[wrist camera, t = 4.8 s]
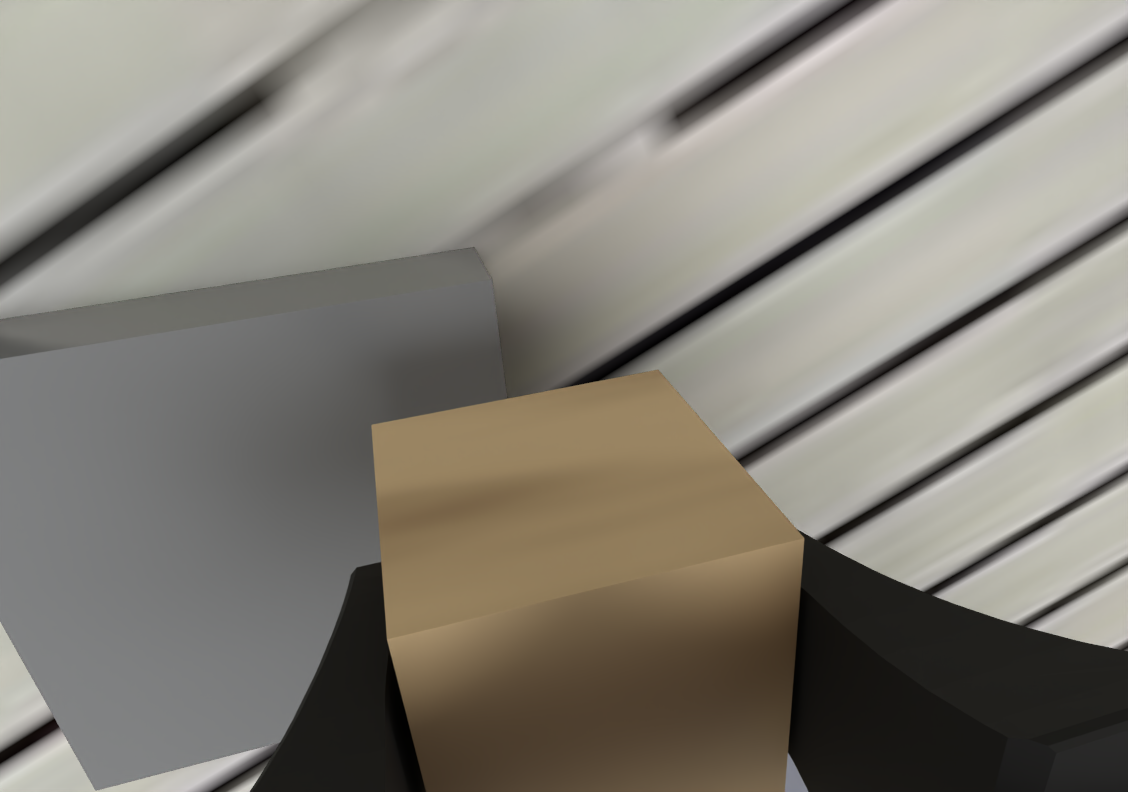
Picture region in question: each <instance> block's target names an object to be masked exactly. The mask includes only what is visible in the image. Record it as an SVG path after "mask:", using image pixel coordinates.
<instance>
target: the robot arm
mask: <svg viewBox="0 0 1128 792" xmlns="http://www.w3.org/2000/svg"><path fill="white" fill-rule="evenodd" d="M798 531H799V530H798ZM799 533H800V534H801V535H802V536H803V537H804V550H803V563H802V575H801V588H800V601H799V614H798V627H797V640H796V653H795V666H794V679H793V692H792V705H791V718H790V731H789V744H788V757H787V769H786V782H785V792H1128V651H1123V650H1118V649H1113V648H1109V647H1104V646H1099V645H1094V644H1089V643H1084V642H1080V641H1076V640H1072V639H1068V638H1064V637H1061V636H1057V635H1053V634H1049V633H1045V632H1042V631H1038V630H1034V629H1030V628H1027V627H1023V626H1020V625H1017V624H1013V623H1010V622H1007V621H1003V620H1000V619H997V618H994V617H991V616H988V615H985V614H982V613H979V612H976V611H973V610H970V609H967V608H964V607H961V606H958V605H956V604H953V603H950V602H948V601H945V600H942V599H940V598H937V597H934V596H932V595H929V594H927V593H925V592H922V591H920V590H917V589H915V588H913V587H910V586H908V585H906V584H903V583H901V582H898V581H896V580H894V579H891V578H889V577H887V576H885V575H883V574H881V573H878V572H876V571H874V570H872V569H870V568H868V567H866V566H864V565H862V564H860V563H858V562H856V561H854V560H852V559H850V558H848V557H846V556H844V555H842V554H840V553H839V552H837V551H835V550H833V549H831V548H829V547H827V546H826V545H824V544H822V543H820V542H818V541H817V540H815V539H813V538H811V537H809V536H808V535H806V534H804V533H803V532H801V531H799ZM250 792H426V789H425V785H424V781H423V778H422V774H421V770H420V766H419V762H418V758H417V754H416V750H415V746H414V742H413V739H412V735H411V731H410V727H409V723H408V719H407V715H406V711H405V707H404V704H403V700H402V696H401V692H400V688H399V684H398V680H397V676H396V672H395V669H394V665H393V661H392V657H391V653H390V649H389V645H388V641H387V632H386V618H385V605H384V591H383V577H382V564H381V562H378V563H374V564H369V565H365V566H360V567H357V568H356V569H355V570H354V571H353V573H352V574H351V576H350V581H349V585H348V588H347V592H346V595H345V598H344V602H343V605H342V608H341V611H340V614H339V616H338V619H337V622H336V625H335V627H334V630H333V633H332V635H331V638H330V640H329V642H328V645H327V647H326V650H325V652H324V654H323V657H322V659H321V662H320V664H319V667H318V669H317V671H316V673H315V675H314V678H313V680H312V682H311V684H310V686H309V688H308V690H307V692H306V694H305V696H304V698H303V700H302V702H301V704H300V706H299V708H298V710H297V712H296V714H295V716H294V718H293V720H292V722H291V724H290V726H289V727H288V729H287V731H286V733H285V735H284V737H283V738H282V740H281V742H280V744H279V745H278V747H277V749H276V751H275V752H274V754H273V756H272V757H271V759H270V761H269V762H268V764H267V766H266V767H265V769H264V771H263V772H262V774H261V775H260V777H259V779H258V780H257V782H256V783H255V785H254V786H253V788H252V789H251V791H250Z"/></svg>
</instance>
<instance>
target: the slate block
mask: <svg viewBox="0 0 1128 792" xmlns="http://www.w3.org/2000/svg"><path fill="white" fill-rule="evenodd" d="M503 399H507V391H506V383H505V376H504V368H503V360H502V352H501V344H500V337H499V329H498V321H497V313H496V306H495V298H494V290H493V282H492V278H491V276H490V275H489V273H488V271H487V269H486V268H485V266H484V264H483V262H482V260H481V259H480V257H479V255H478V253H477V252H476V250H475V248H474V247H473V248H467V249H460V250H453V251H447V252H440V253H434V254H427V255H421V256H414V257H407V258H401V259H394V260H388V261H381V262H375V263H368V264H361V265H355V266H348V267H342V268H335V269H329V270H322V271H315V272H309V273H302V274H296V275H289V276H282V277H276V278H269V279H263V280H256V281H250V282H243V283H236V284H230V285H223V286H217V287H210V288H204V289H197V290H190V291H184V292H177V293H171V294H164V295H158V296H151V297H144V298H138V299H131V300H125V301H118V302H112V303H105V304H98V305H92V306H85V307H79V308H72V309H65V310H59V311H52V312H46V313H39V314H33V315H26V316H19V317H13V318H6V319H0V622H1V624H2V626H3V627H4V629H5V631H6V633H7V634H8V636H9V638H10V640H11V641H12V643H13V645H14V647H15V649H16V650H17V652H18V654H19V656H20V657H21V659H22V661H23V663H24V664H25V666H26V668H27V670H28V672H29V673H30V675H31V677H32V679H33V680H34V682H35V684H36V686H37V688H38V689H39V691H40V693H41V695H42V696H43V698H44V700H45V702H46V703H47V705H48V707H49V709H50V711H51V712H52V714H53V716H54V718H55V719H56V721H57V723H58V725H59V727H60V728H61V730H62V732H63V734H64V735H65V737H66V739H67V741H68V742H69V744H70V746H71V748H72V750H73V751H74V753H75V755H76V757H77V758H78V760H79V762H80V764H81V765H82V767H83V769H84V771H85V773H86V774H87V776H88V778H89V780H90V781H91V783H92V785H93V787H94V789H95V790H100V789H104V788H108V787H112V786H116V785H119V784H123V783H127V782H131V781H135V780H138V779H142V778H146V777H150V776H154V775H157V774H161V773H165V772H169V771H173V770H177V769H180V768H184V767H188V766H192V765H196V764H199V763H203V762H207V761H211V760H215V759H218V758H222V757H226V756H230V755H234V754H238V753H241V752H245V751H249V750H253V749H257V748H260V747H264V746H268V745H272V744H276V743H279V742H281V740H282V738H283V737H284V735H285V733H286V731H287V729H288V727H289V726H290V724H291V722H292V720H293V718H294V716H295V714H296V712H297V710H298V708H299V706H300V704H301V702H302V700H303V698H304V696H305V694H306V692H307V690H308V688H309V686H310V684H311V682H312V680H313V678H314V675H315V673H316V671H317V669H318V667H319V664H320V662H321V659H322V657H323V654H324V652H325V650H326V647H327V645H328V642H329V640H330V638H331V635H332V633H333V630H334V627H335V625H336V622H337V619H338V616H339V614H340V611H341V608H342V605H343V602H344V598H345V595H346V592H347V588H348V585H349V581H350V576H351V574H352V573H353V571H354V570H355V569H356V568H357V567H360V566H365V565H369V564H374V563H378V562H381V550H380V536H379V523H378V509H377V495H376V482H375V468H374V454H373V441H372V427H371V425H373V424H378V423H384V422H389V421H394V420H399V419H404V418H410V417H415V416H420V415H425V414H430V413H436V412H441V411H446V410H451V409H456V408H462V407H467V406H472V405H477V404H482V403H488V402H493V401H498V400H503Z"/></svg>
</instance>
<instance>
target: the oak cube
mask: <svg viewBox="0 0 1128 792" xmlns="http://www.w3.org/2000/svg"><path fill="white" fill-rule="evenodd" d="M371 427H372V441H373V454H374V468H375V482H376V495H377V509H378V523H379V536H380V550H381V564H382V577H383V591H384V605H385V618H386V632H387V641H388V645H389V649H390V653H391V657H392V661H393V665H394V669H395V672H396V676H397V680H398V684H399V688H400V692H401V696H402V700H403V704H404V707H405V711H406V715H407V719H408V723H409V727H410V731H411V735H412V739H413V742H414V746H415V750H416V754H417V758H418V762H419V766H420V770H421V774H422V778H423V781H424V785H425V789H426V792H785V782H786V769H787V757H788V744H789V731H790V718H791V705H792V692H793V679H794V666H795V653H796V640H797V627H798V614H799V601H800V588H801V575H802V563H803V550H804V537H803V536H802V535H801V534H800V533H799V531H798V530H797V529H796V528H795V527H794V526H793V525H792V523H791V522H790V521H789V520H788V519H787V518H786V516H785V515H784V514H783V513H782V512H781V511H780V510H779V508H778V507H777V506H776V505H775V504H774V503H773V501H772V500H771V499H770V498H769V497H768V496H767V495H766V493H765V492H764V491H763V490H762V489H761V488H760V487H759V485H758V484H757V483H756V482H755V481H754V480H753V478H752V477H751V476H750V475H749V474H748V473H747V472H746V470H745V469H744V468H743V467H742V466H741V465H740V463H739V462H738V461H737V460H736V459H735V458H734V457H733V455H732V454H731V453H730V452H729V451H728V450H727V448H726V447H725V446H724V445H723V444H722V443H721V442H720V440H719V439H718V438H717V437H716V436H715V435H714V434H713V432H712V431H711V430H710V429H709V428H708V427H707V425H706V424H705V423H704V422H703V421H702V420H701V419H700V417H699V416H698V415H697V414H696V413H695V412H694V410H693V409H692V408H691V407H690V406H689V405H688V404H687V402H686V401H685V400H684V399H683V398H682V397H681V396H680V394H679V393H678V392H677V391H676V390H675V389H674V387H673V386H672V385H671V384H670V383H669V382H668V381H667V379H666V378H665V377H664V376H663V375H662V374H661V372H660V371H659V370H654V371H649V372H644V373H638V374H633V375H628V376H623V377H618V378H612V379H607V380H602V381H597V382H592V383H586V384H581V385H576V386H571V387H566V388H560V389H555V390H550V391H545V392H540V393H534V394H529V395H524V396H519V397H514V398H508V399H503V400H498V401H493V402H488V403H482V404H477V405H472V406H467V407H462V408H456V409H451V410H446V411H441V412H436V413H430V414H425V415H420V416H415V417H410V418H404V419H399V420H394V421H389V422H384V423H378V424H373V425H371Z"/></svg>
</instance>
